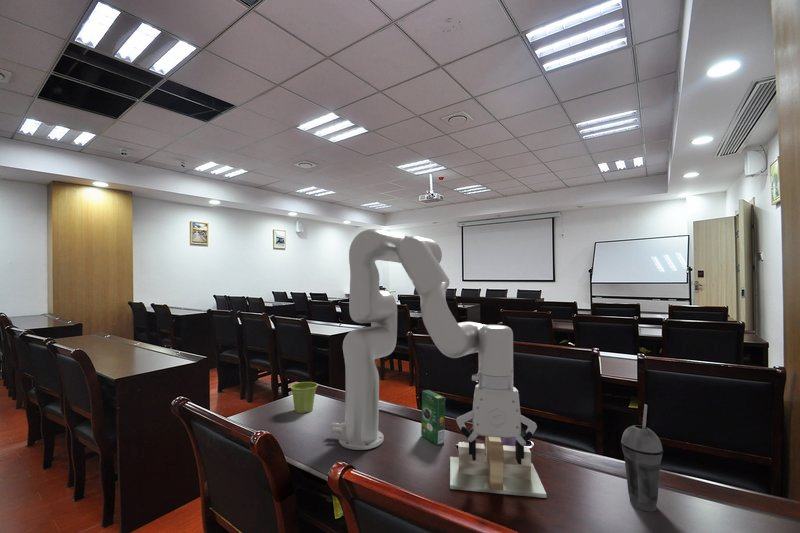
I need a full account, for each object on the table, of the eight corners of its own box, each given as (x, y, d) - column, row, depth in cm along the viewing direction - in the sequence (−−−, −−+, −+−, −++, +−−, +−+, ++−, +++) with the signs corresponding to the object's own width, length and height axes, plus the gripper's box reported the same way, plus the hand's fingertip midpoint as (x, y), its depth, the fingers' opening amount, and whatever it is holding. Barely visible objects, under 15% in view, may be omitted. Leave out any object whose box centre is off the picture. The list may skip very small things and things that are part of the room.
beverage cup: (613, 494, 76) (611, 399, 77) (645, 493, 76) (643, 398, 77) (639, 516, 68) (637, 411, 70) (674, 515, 69) (671, 410, 70)
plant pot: (284, 414, 120) (285, 388, 120) (296, 405, 129) (297, 381, 130) (311, 416, 119) (311, 389, 119) (321, 406, 128) (321, 382, 128)
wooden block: (503, 490, 75) (503, 447, 76) (490, 489, 76) (490, 446, 76) (496, 462, 87) (496, 425, 88) (485, 461, 87) (485, 424, 88)
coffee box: (445, 444, 99) (446, 396, 100) (437, 446, 97) (438, 398, 98) (428, 434, 106) (428, 389, 106) (420, 436, 104) (421, 390, 105)
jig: (450, 488, 77) (450, 456, 77) (450, 459, 90) (450, 432, 90) (546, 497, 74) (546, 464, 75) (532, 466, 87) (532, 438, 87)
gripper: (456, 383, 77) (456, 464, 76) (540, 387, 74) (541, 472, 73) (456, 375, 84) (456, 448, 83) (532, 378, 82) (532, 455, 81)
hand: (495, 459), depth 78 cm, fingers open, 9 cm apart
